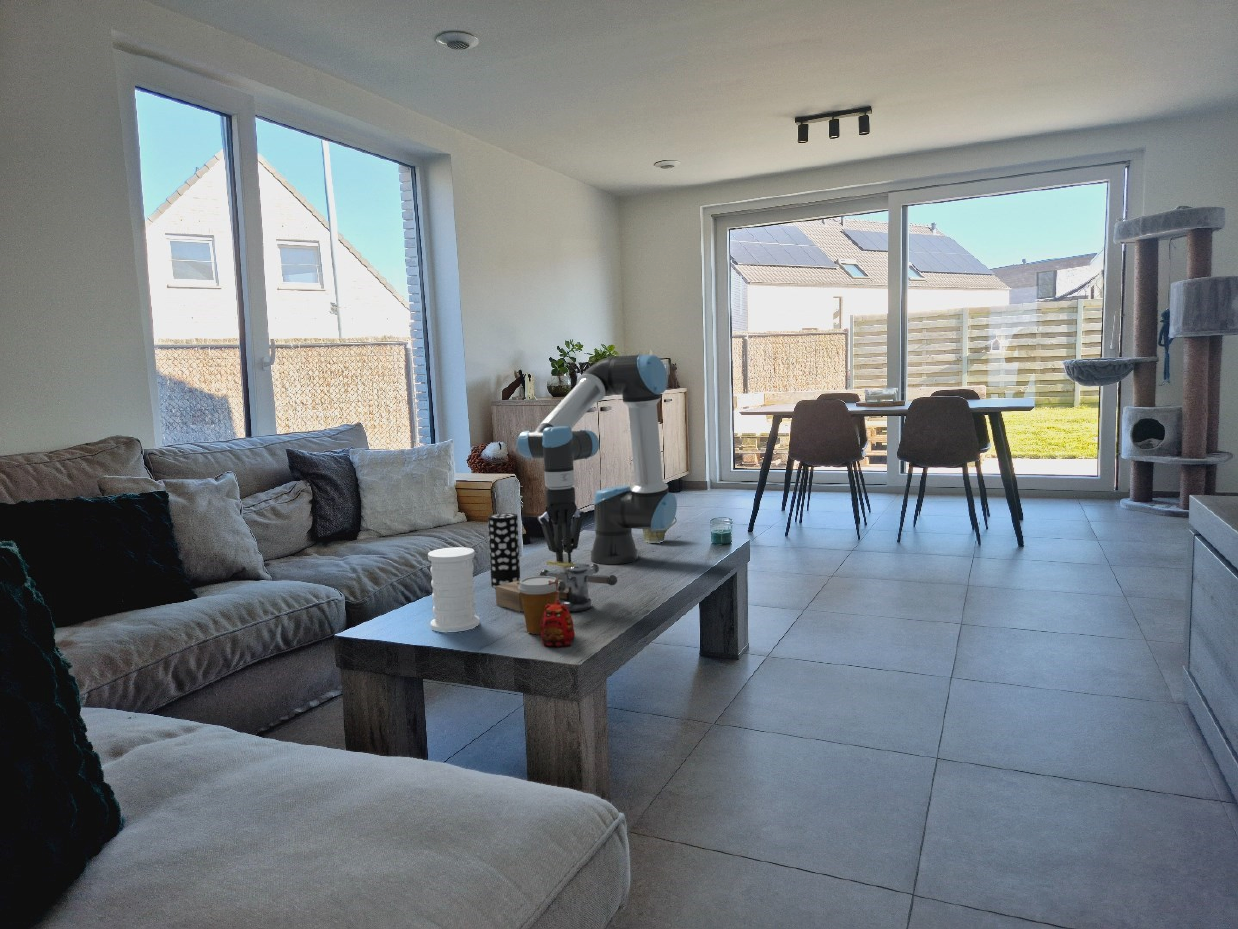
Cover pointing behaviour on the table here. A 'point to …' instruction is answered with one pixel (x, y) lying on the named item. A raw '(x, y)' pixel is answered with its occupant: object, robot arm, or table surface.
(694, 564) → the table surface
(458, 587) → the decorative container
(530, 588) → the disposable coffee cup
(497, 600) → the walnut stand
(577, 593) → the capstan
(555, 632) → the red clay folk toy
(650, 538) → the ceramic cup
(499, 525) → the spotted tube
